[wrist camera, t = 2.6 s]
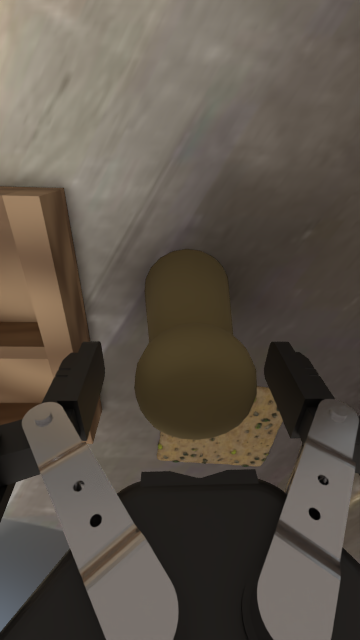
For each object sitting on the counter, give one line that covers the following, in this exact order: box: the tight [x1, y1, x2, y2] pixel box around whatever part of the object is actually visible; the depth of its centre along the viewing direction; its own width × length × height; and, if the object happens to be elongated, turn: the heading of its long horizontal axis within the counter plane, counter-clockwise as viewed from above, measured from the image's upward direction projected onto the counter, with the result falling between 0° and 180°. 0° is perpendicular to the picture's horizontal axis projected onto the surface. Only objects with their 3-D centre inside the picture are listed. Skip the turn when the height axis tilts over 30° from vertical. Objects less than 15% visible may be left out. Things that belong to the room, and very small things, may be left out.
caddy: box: [0, 186, 102, 444], centre depth 20 cm, size 19×11×4 cm, turn 179°
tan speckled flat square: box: [157, 386, 283, 467], centre depth 28 cm, size 12×12×1 cm
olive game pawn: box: [134, 249, 257, 440], centre depth 15 cm, size 6×6×11 cm
